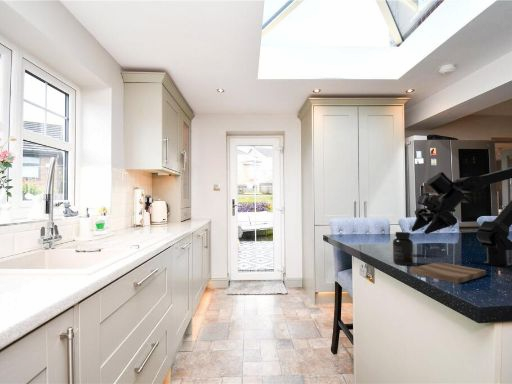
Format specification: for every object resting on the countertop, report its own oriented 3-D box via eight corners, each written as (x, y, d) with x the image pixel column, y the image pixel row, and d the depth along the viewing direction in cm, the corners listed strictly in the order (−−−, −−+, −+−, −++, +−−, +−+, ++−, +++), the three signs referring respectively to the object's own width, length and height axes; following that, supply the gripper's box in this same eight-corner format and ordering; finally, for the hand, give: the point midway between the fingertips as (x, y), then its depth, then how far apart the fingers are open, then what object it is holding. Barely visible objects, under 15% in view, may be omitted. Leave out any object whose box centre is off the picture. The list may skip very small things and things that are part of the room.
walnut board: (438, 266, 99) (438, 262, 99) (485, 274, 87) (485, 270, 87) (409, 272, 90) (409, 268, 90) (458, 283, 78) (457, 278, 78)
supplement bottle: (417, 265, 100) (416, 233, 100) (398, 265, 100) (398, 233, 100) (407, 261, 106) (406, 231, 107) (389, 261, 106) (389, 231, 107)
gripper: (418, 189, 113) (392, 215, 113) (447, 186, 94) (415, 218, 94) (439, 208, 112) (412, 234, 112) (471, 209, 93) (439, 241, 94)
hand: (418, 231), depth 103 cm, fingers open, 9 cm apart
